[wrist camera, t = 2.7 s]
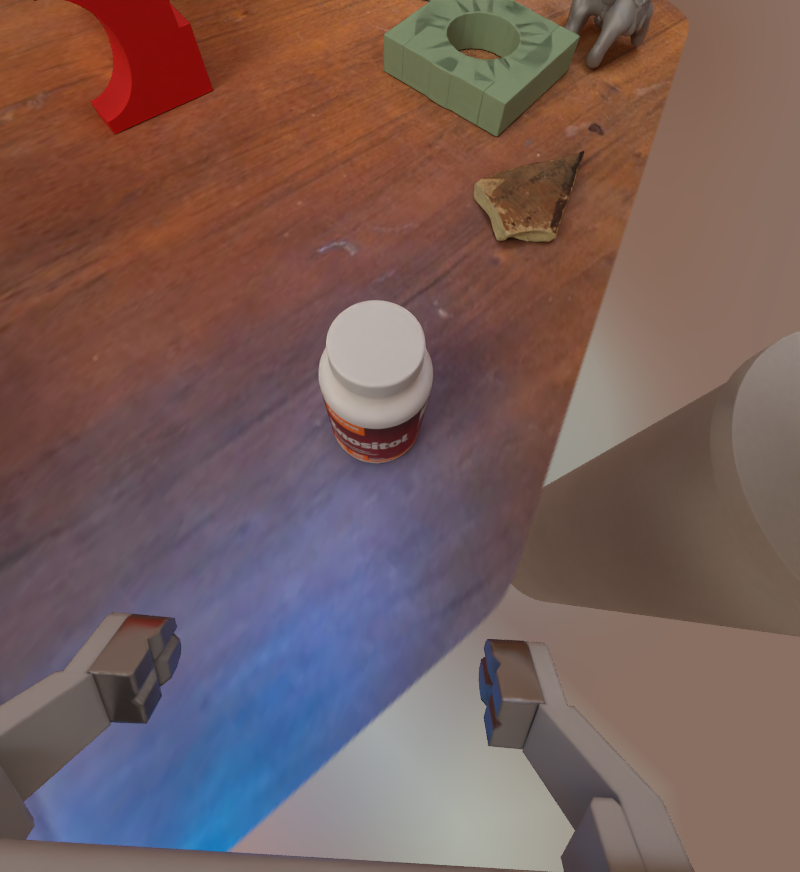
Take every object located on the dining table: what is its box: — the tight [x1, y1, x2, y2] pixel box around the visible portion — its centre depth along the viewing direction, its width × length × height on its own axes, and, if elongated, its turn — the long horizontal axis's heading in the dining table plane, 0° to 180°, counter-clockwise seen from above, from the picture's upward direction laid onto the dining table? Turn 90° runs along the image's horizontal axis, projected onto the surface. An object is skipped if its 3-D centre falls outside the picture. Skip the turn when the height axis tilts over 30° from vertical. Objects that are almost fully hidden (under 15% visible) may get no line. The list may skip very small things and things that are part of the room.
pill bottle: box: [319, 300, 433, 463], centre depth 25 cm, size 6×6×11 cm
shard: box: [474, 151, 584, 242], centre depth 36 cm, size 11×8×2 cm
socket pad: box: [384, 0, 580, 137], centre depth 41 cm, size 14×13×3 cm
